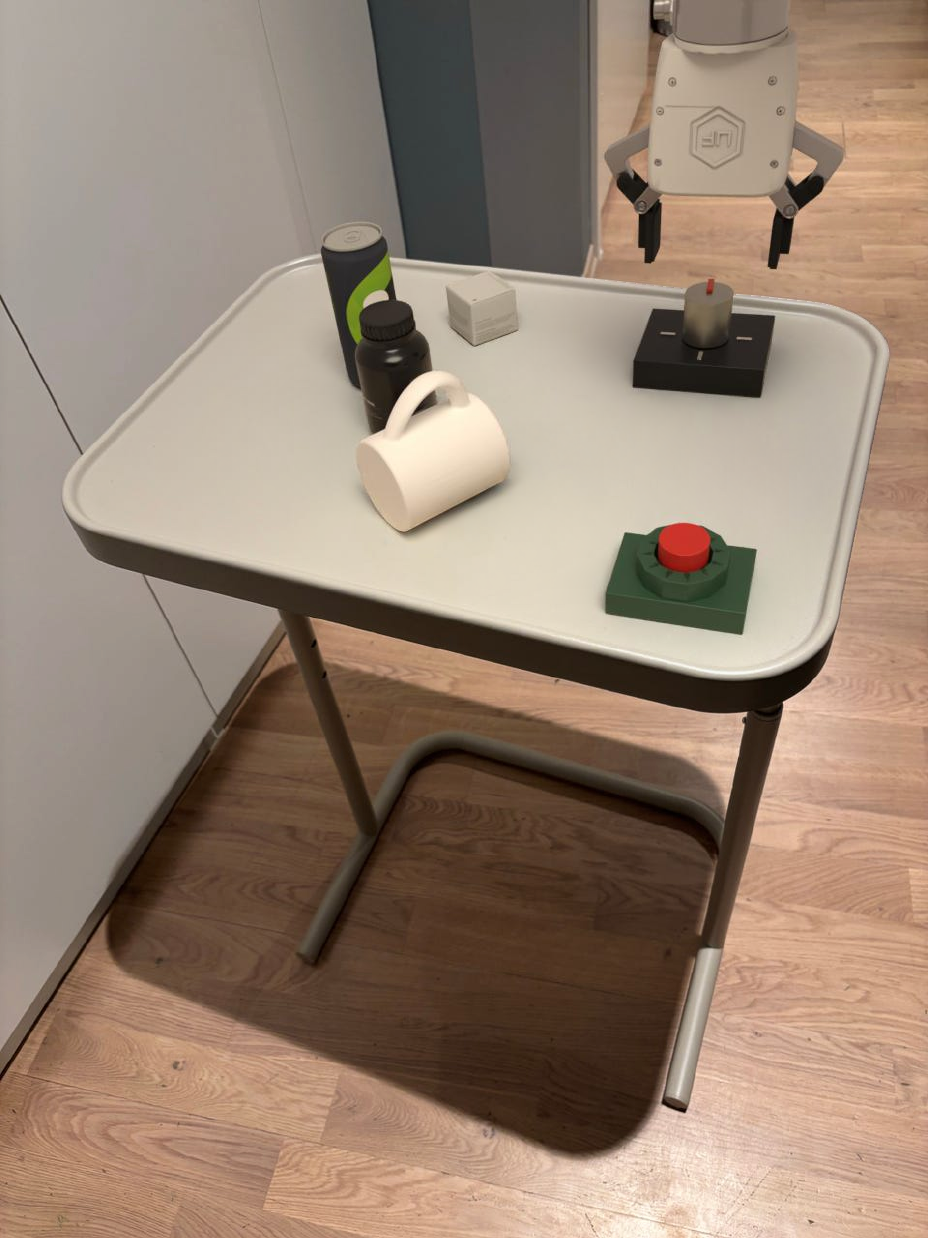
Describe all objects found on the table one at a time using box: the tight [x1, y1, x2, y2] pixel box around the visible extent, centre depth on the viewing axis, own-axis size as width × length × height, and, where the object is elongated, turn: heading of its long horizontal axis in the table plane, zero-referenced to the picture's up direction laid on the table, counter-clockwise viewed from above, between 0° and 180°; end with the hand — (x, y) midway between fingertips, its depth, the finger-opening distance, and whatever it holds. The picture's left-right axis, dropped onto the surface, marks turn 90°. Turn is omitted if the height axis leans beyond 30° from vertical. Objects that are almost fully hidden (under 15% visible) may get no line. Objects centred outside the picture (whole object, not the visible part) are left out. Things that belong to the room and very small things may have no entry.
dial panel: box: [632, 307, 776, 398], centre depth 91 cm, size 12×10×3 cm
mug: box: [355, 370, 511, 532], centre depth 78 cm, size 8×10×12 cm
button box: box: [604, 524, 758, 635], centre depth 70 cm, size 10×7×4 cm
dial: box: [682, 278, 735, 348], centre depth 89 cm, size 4×4×5 cm
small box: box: [445, 270, 519, 347], centre depth 100 cm, size 6×6×5 cm
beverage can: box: [320, 221, 397, 389], centre depth 92 cm, size 6×6×15 cm
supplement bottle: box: [355, 299, 438, 435], centre depth 86 cm, size 7×7×12 cm
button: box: [658, 522, 710, 573], centre depth 68 cm, size 4×4×2 cm
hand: (711, 258), depth 76 cm, fingers open, 9 cm apart
